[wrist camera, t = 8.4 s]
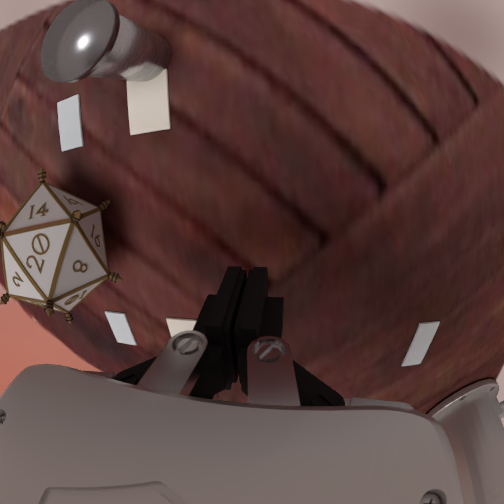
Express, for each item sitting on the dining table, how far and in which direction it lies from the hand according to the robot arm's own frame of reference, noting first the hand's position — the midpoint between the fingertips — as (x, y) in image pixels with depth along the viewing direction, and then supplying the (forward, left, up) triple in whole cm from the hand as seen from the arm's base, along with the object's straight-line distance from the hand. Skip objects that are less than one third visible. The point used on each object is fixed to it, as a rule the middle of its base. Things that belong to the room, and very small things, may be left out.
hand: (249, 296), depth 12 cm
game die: (+12, -2, -5) cm, 13 cm away
